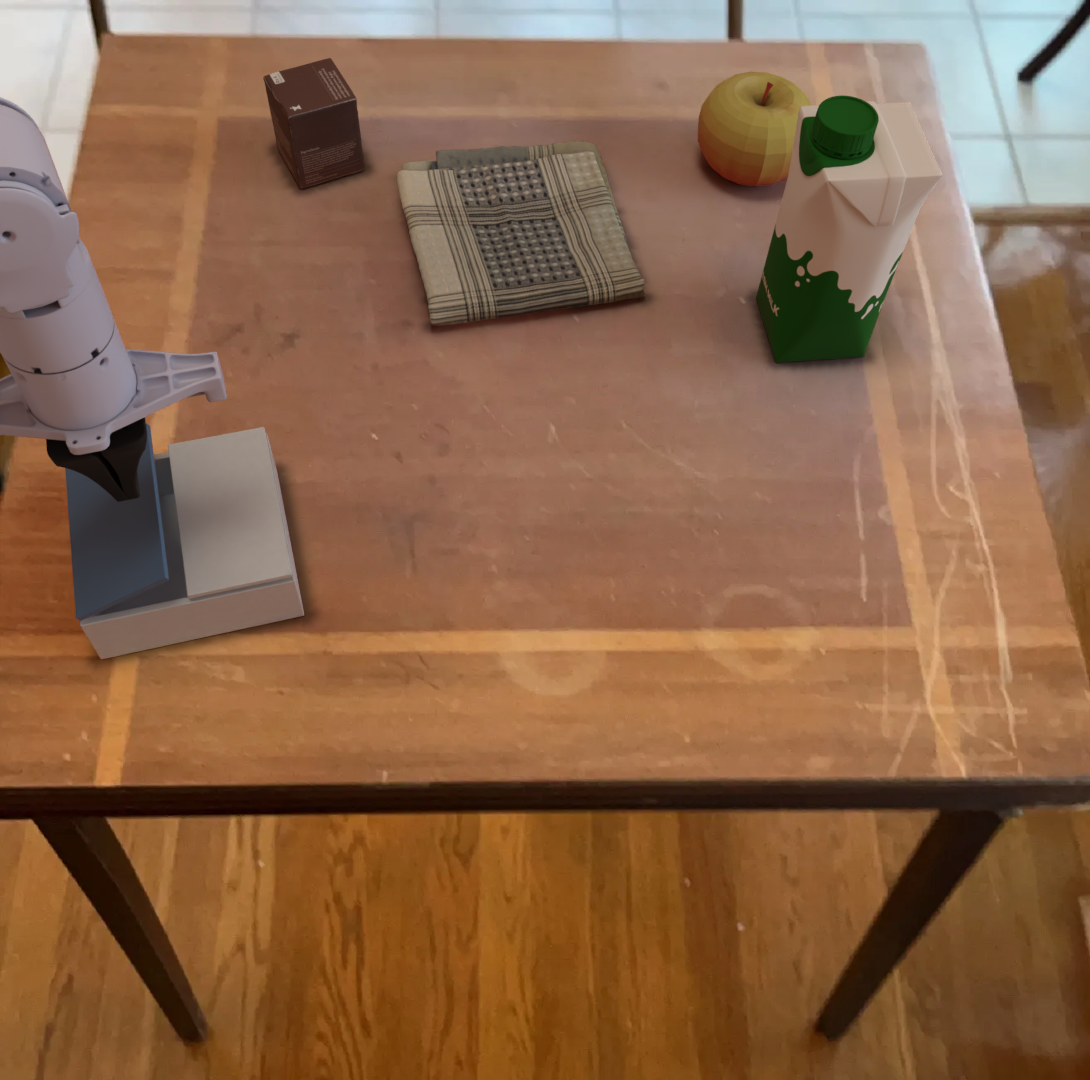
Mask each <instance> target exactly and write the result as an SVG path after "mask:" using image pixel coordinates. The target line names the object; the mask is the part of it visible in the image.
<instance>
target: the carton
mask: <svg viewBox="0 0 1090 1080" xmlns="http://www.w3.org/2000/svg"><path fill="white" fill-rule="evenodd" d="M167 449H168V450H167V451H165V452H164V451H163V452H160V453H154V461H155V469H156V478H157V486H158V494H159V502H160V510H161V519H162V527H163V535H164V543H165V551H166V559H167V568H168V576H169V580H167V581H165V582H163V583H161V584H159V585H157V586H155V587H152V588H150V589H148V590H146V591H144V592H142V593H140V594H137V595H135V596H133V597H131V598H129V599H127V600H125V601H122V602H120V603H118V604H116V605H114V606H112V607H109V608H107V609H105V610H103V611H101V612H99V613H97V614H94V615H92V616H90V617H88V618H86V619H84V620H82V621H79V626H80V629H81V630H82V631H83V633H84V635H85V636H86V638H87V639H88V641H89V643H90V644H91V646H92V647H93V649H94V651H95V652H96V654H97V656H98V657H99V659H100V660H105V659H110V658H115V657H119V656H123V655H124V656H125V655H129V654H133V653H138V652H143V651H147V650H151V649H157V648H160V647H166V646H170V645H175V644H179V643H185V642H189V641H194V640H198V639H203V638H208V637H211V636H216V635H221V634H226V633H230V632H235V631H240V630H245V629H249V628H254V627H258V626H259V627H260V626H263V625H268V624H272V623H276V622H281V621H286V620H291V619H295V618H300V617H304V616H305V611H304V605H303V601H302V595H301V591H300V584H299V579H298V574H297V568H296V565H295V564H296V563H295V558H294V553H293V547H292V542H291V537H290V531H289V527H288V521H287V516H286V510H285V505H284V500H283V494H282V489H281V484H280V478H279V473H278V469H277V466H276V461H275V458H274V454H273V451H272V446H271V442H270V439H269V435H268V433H267V432H266V428H265V427H264V426H261V427H255V428H249V429H244V430H238V431H233V432H227V433H222V434H218V435H212V436H206V437H202V438H196V439H191V440H185V441H179V442H174V443H169V444H167Z"/></svg>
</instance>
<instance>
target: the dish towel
mask: <svg viewBox="0 0 1090 1080" xmlns="http://www.w3.org/2000/svg"><path fill="white" fill-rule="evenodd" d="M599 151H600V150H599V148H598V145H597V144H596V143H590V142H587V141H583V140H580V141H573V140H570V141H566V142H554V143H550V144H539V145H528V146H522V145H521V146H519V145H518V146H517V145H512V146H511V145H510V146H505V145H499V146H496V147H486V148H483V147H482V148H472V149H471V148H470V149H441V150H436V151H435V158H436V160H429V159H427V160H426V159H424V160H421V161H420V160H419V161H407V162H405V163H403V164H401V168H400V169H401V170H399V171H397V174H396V184H397V189H398V194H399V200H400V202H401V209H402V211H403V214H404V217H405V220H406V223H407V227H408V231H409V232H408V234H409V237H410V243H411V245H412V247H413V252H414V253H413V254H414V255H415V257H416V262H417V265H418V270H419V272H420V276H421V277H420V278H421V281H422V283H423V289H424V292H425V295H426V301H427V305H428V306H427V310H428V312H429V313H428V314H429V318H428V319H429V324H430V325H432V326H450V325H460V324H467V323H471V322H479V321H485V320H495V319H500V318H505V317H513V316H521V315H531V314H535V313H543V312H546V311H555V310H561V309H564V310H566V309H571V308H580V307H585V306H593V305H600V304H608V303H615V302H619V301H626V300H629V299H637V298H642V297H644V296H645V295H646V291H645V289H644V286H645V279H644V278H643V276H642V275H641V274H640V273H641V272H640V271H639V269H638V267H637V265H636V263H635V261H634V258H633V256H632V253H631V250H630V247H629V243H628V240H627V237H626V233H625V229H624V227H623V224H622V220H621V218H620V214H619V211H618V208H617V204H616V201H615V198H614V194H613V190H612V188H611V187H612V186H611V185H610V180H609V178H608V173H607V171H606V168H605V165H604V163H603V161H602V157H601V155H600V152H599Z"/></svg>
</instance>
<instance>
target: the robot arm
mask: <svg viewBox="0 0 1090 1080" xmlns="http://www.w3.org/2000/svg"><path fill="white" fill-rule="evenodd" d="M94 265H95V264H94V263H93V261H92V258H91V255H90V253H89V251H88V248H87V246H86V245H85V243H84V242H83V240H82V238H81V237H80V223H79V218H78V214H77V213H76V212H75V211H72V208H71V206H70V203H69V200H68V198H67V195H66V192H65V189H64V187H63V184H62V182H61V178H60V175H59V174H58V170H57V168H56V165H55V162H54V159H53V157H52V154H51V151H50V148H49V146H48V144H47V140H46V138H45V136H44V135H43V133H42V131H41V130H40V128H39V126H38V124H37V123H36V121H35V120H34V119H33V117H32V116H31V115H30V114H29V113H28V112H27V111H26V110H25V109H23V108H22V107H20V106H19V105H18V104H15V103H14V102H12V101H10V100H8V99H7V98H4V97H0V354H1V356H2V359H3V361H4V363H5V364H6V366H7V369H8V370H9V372H10V374H8V375H6V376H4V377H1V378H0V436H6V437H7V436H8V437H18V438H20V437H21V438H29V439H31V438H32V439H40V440H41V439H43V440H45V443H46V444H45V445H46V453H47V456H48V457H49V459H50V461H52V463H53V464H54V465H55V466H56V467H57V468H64V469H65V468H67V469H71V470H74V471H76V472H78V473H81V474H83V475H85V476H87V477H88V478H90V479H91V480H93V481H94V482H96V483H97V484H98V485H100V486H101V487H102V488H103V489H105V490H106V491H107V492H108V493H109V494H110V495H111V496H112V497H113V498H114V499H115V500H116V501H117V502H120V501H126V500H131V499H136V498H139V497H140V490H139V481H138V473H137V470H138V465H139V461H140V458H141V456H142V454H143V452H144V450H145V449H146V443H147V429H146V421H147V420H146V417H148V416H151V415H153V414H154V413H157V412H159V411H161V410H163V409H165V408H167V407H170V406H172V405H174V404H176V403H178V402H180V401H182V400H184V399H188V398H194V397H200V396H205V399H206V400H207V401H208V402H209V403H215V402H221V401H226V400H227V399H228V395H227V388H226V384H225V383H226V381H225V378H224V377H225V375H224V372H223V369H222V366H221V362H220V357H219V355H218V352H217V351H209V352H201V353H200V352H199V353H183V352H172V351H171V352H170V351H169V352H168V351H158V350H147V349H134V348H126V346H125V343H124V341H123V338H122V335H121V333H120V330H119V328H118V325H117V322H116V320H115V318H114V315H113V312H112V310H111V307H110V304H109V301H108V300H107V296H106V294H105V292H104V289H103V286H102V284H101V281H100V278H99V276H98V274H97V270H96V267H95V266H94Z"/></svg>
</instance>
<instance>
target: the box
mask: <svg viewBox="0 0 1090 1080" xmlns="http://www.w3.org/2000/svg"><path fill="white" fill-rule="evenodd" d="M262 78H263V83H264V87H265V92H266V97H267V103H268V106H269V111H270V117H271V122H272V126H273V131H274V137H275V142H276V148H277V150H278V152H279V153H280V155H281V157H282V159H283V161H284V163H285V164H286V166H287V168H288V169H289V172H290V173H291V175H292V176H293V179H294V180H295V182H296V183H297V186H298V187H299V188H300V189H305V188H308V187H312V186H315V185H320V184H322V183H325V182H329V181H332V180H335V179H338V178H341V177H345V176H348V175H353V174H356V173H359V172H363V171H364V170H365V168H366V166H365V160H364V158H365V157H364V150H363V143H362V142H363V141H362V134H361V127H360V117H359V110H358V100H357V97H356V94H355V93H354V92H353V90H352V88H351V87H350V86H349V84H348V82H347V81H346V79H345V77H344V76H343V75H342V72H341V71H340V69H339V68H338V67H337V65H336V63H335V62H334V61H333V59H332V58H331V57H328V58H324V59H320V60H316V61H313V62H309V63H305V64H302V65H298V66H294V67H291V68H287V69H283V70H277V71H274V72H271V73H269V74H266V75H263V76H262Z"/></svg>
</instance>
